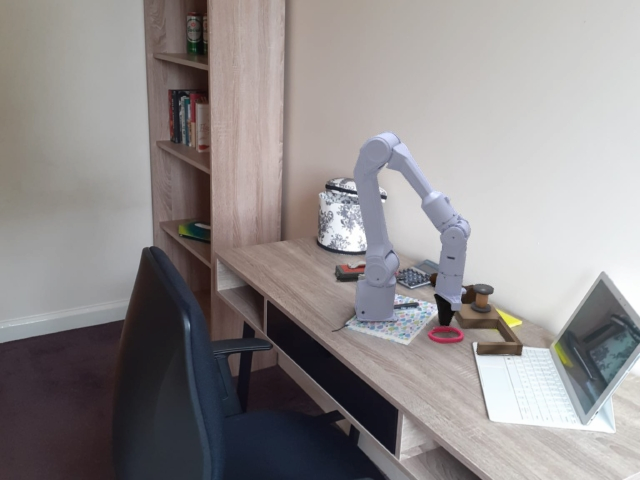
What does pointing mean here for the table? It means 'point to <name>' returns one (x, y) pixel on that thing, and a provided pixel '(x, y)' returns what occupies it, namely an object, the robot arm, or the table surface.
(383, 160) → the robot arm
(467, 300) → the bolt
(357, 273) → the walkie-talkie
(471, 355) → the table surface
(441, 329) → the fitness band
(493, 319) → the notched board
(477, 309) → the spool
